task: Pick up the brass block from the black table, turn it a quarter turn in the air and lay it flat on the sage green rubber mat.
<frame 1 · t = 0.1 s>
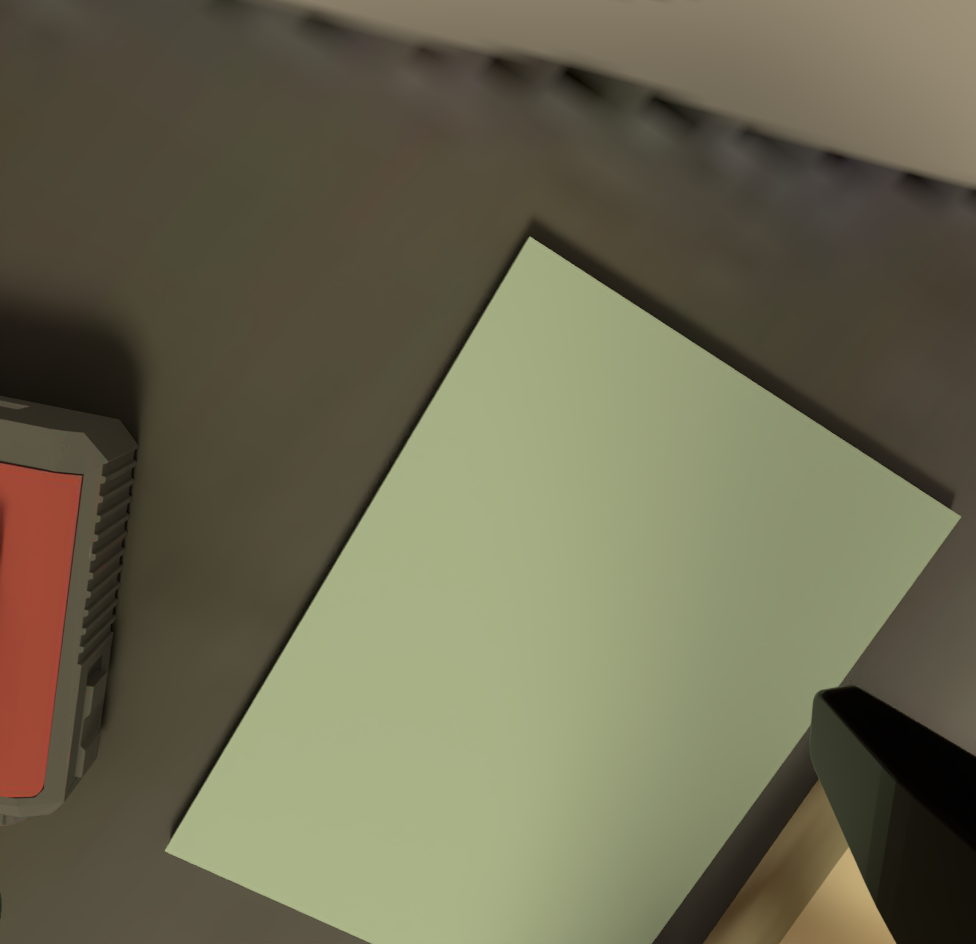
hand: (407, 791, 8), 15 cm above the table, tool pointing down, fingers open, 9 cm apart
brass block: (813, 902, 28), on the table
rubber mat: (557, 677, 25), on the table
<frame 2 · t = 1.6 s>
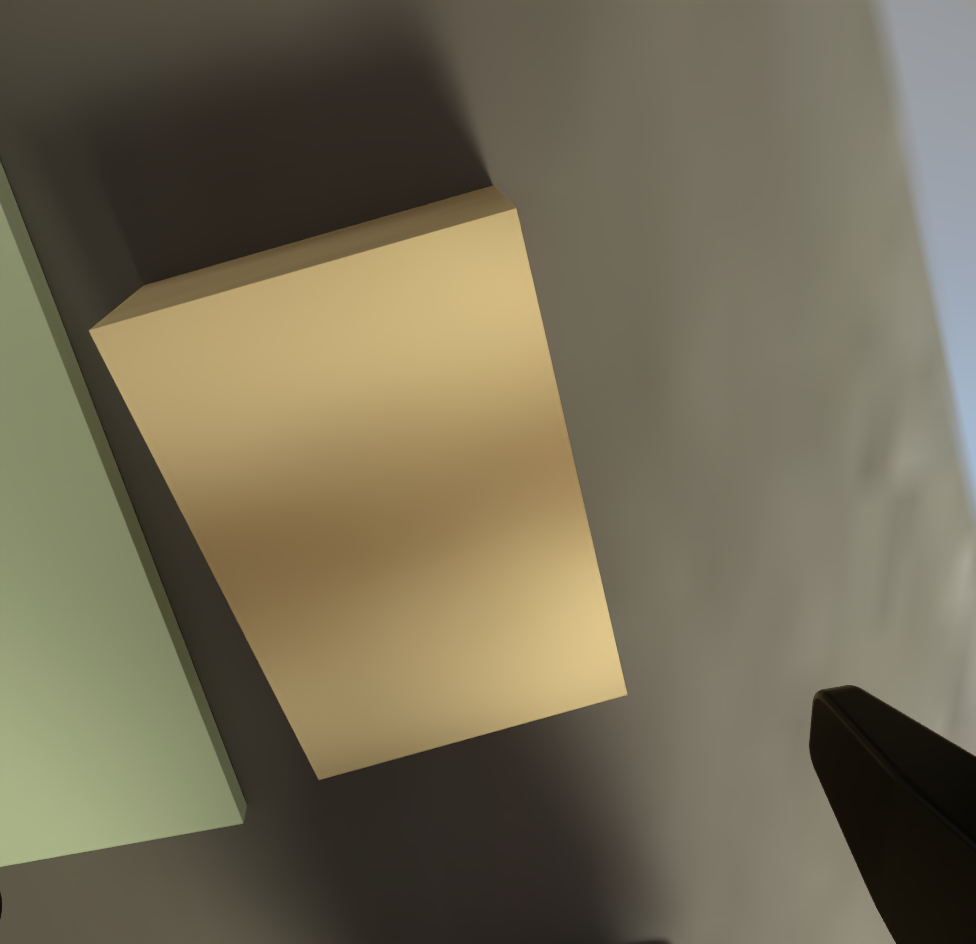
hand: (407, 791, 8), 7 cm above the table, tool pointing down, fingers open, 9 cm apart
brass block: (399, 461, 15), on the table
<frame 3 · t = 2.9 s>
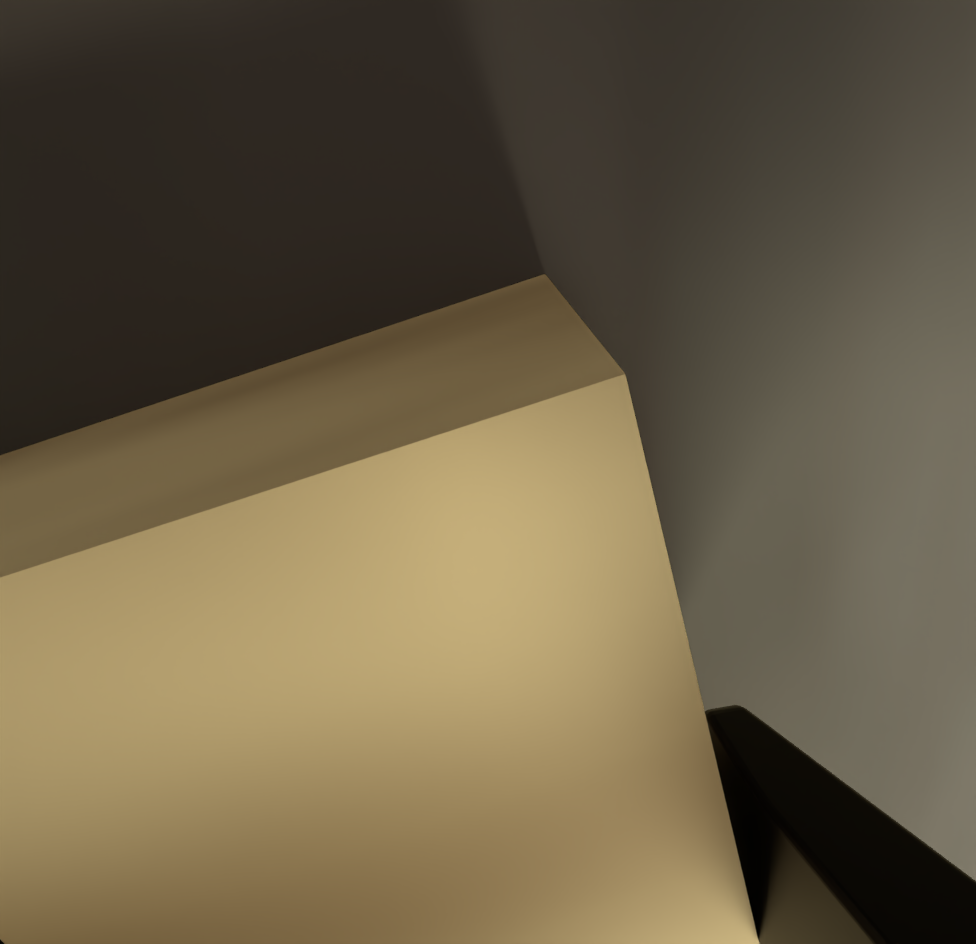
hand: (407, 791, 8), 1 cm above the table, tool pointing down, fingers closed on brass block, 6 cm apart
brass block: (404, 699, 10), on the table, touching gripper
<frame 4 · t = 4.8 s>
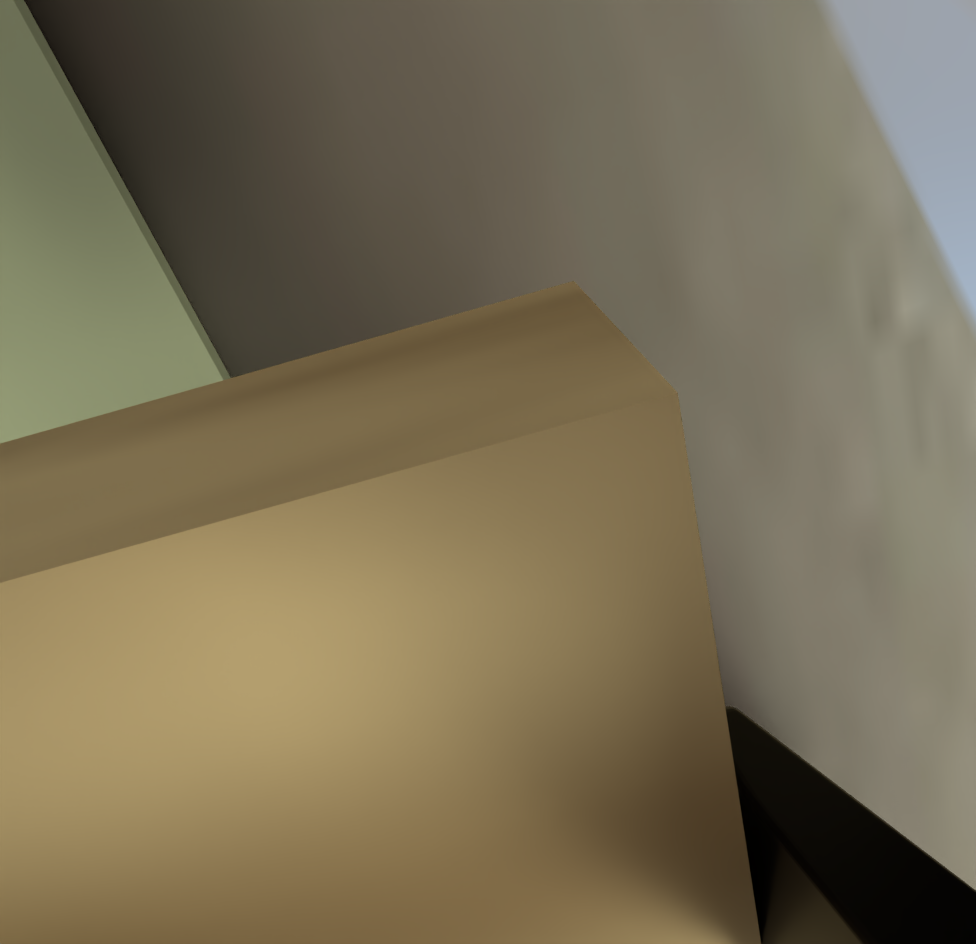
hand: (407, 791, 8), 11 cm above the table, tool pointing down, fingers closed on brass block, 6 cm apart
brass block: (407, 709, 9), point 10 cm above the table, touching gripper
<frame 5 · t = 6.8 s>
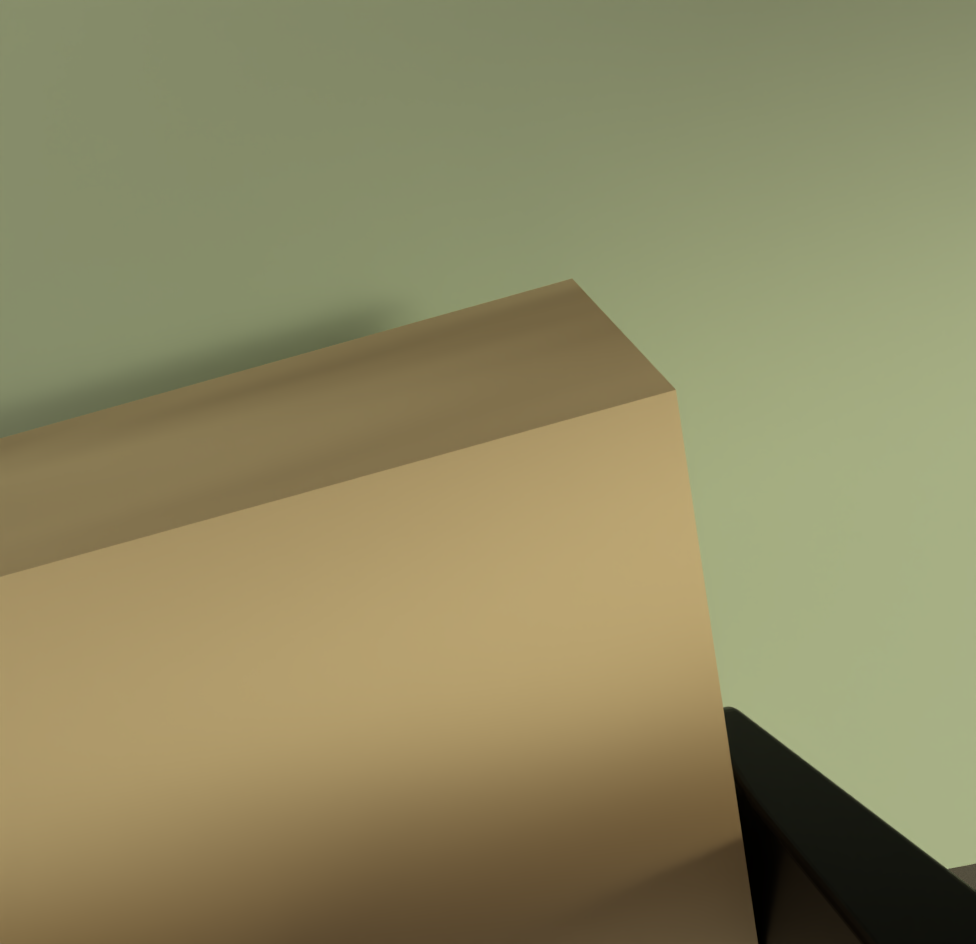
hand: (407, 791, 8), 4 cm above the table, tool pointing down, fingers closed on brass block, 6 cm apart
brass block: (404, 708, 9), point 2 cm above the table, touching gripper
rubber mat: (400, 597, 12), on the table
when the fingers open (3 cm above the table, at t = 7.8 s): brass block drops 1 cm, resting on rubber mat.
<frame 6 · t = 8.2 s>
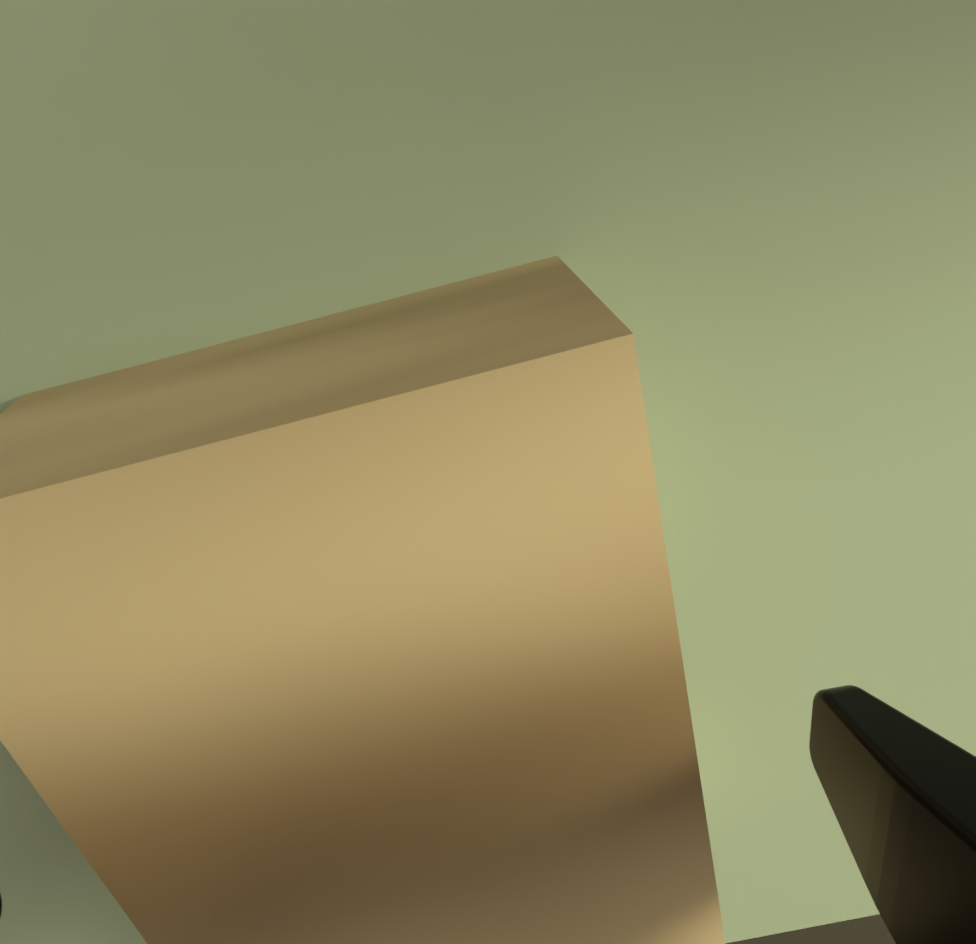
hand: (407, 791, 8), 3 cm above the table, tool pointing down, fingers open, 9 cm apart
brass block: (403, 641, 11), resting on rubber mat
rubber mat: (402, 621, 11), on the table
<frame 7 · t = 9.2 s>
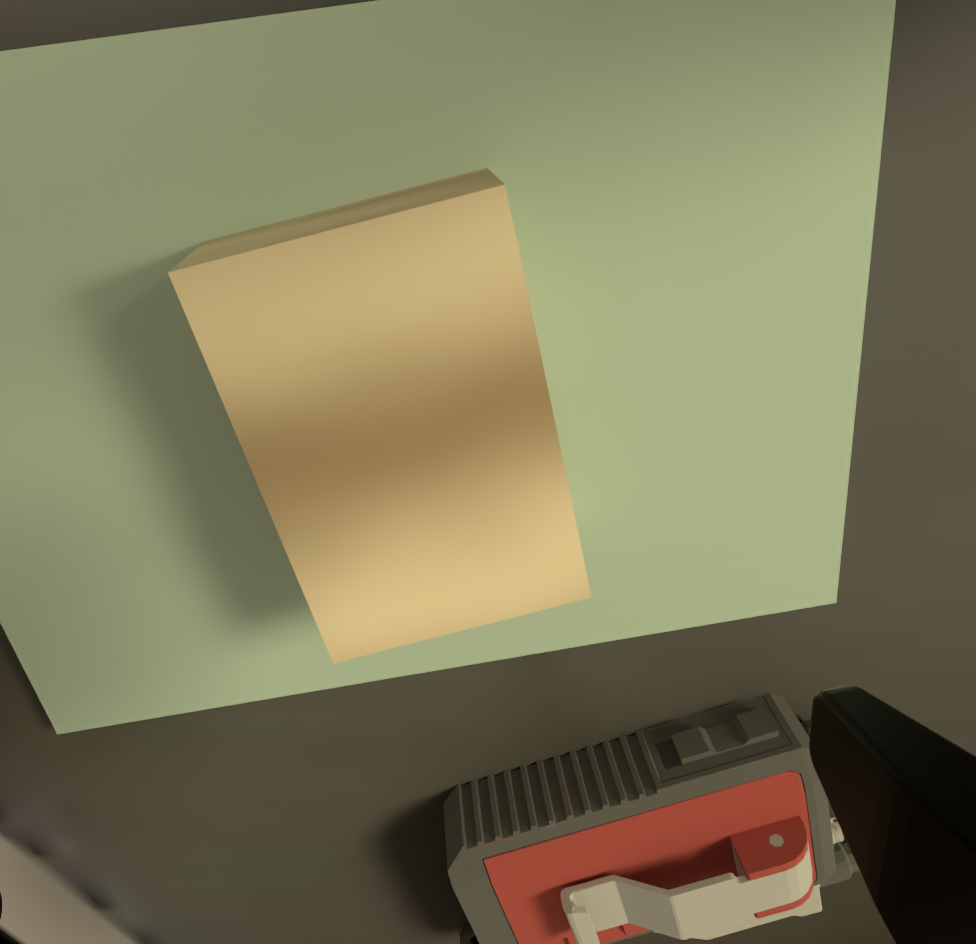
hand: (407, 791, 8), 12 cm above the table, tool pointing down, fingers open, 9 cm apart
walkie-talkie: (719, 785, 27), on the table
brass block: (405, 401, 18), resting on rubber mat
rubber mat: (405, 395, 19), on the table
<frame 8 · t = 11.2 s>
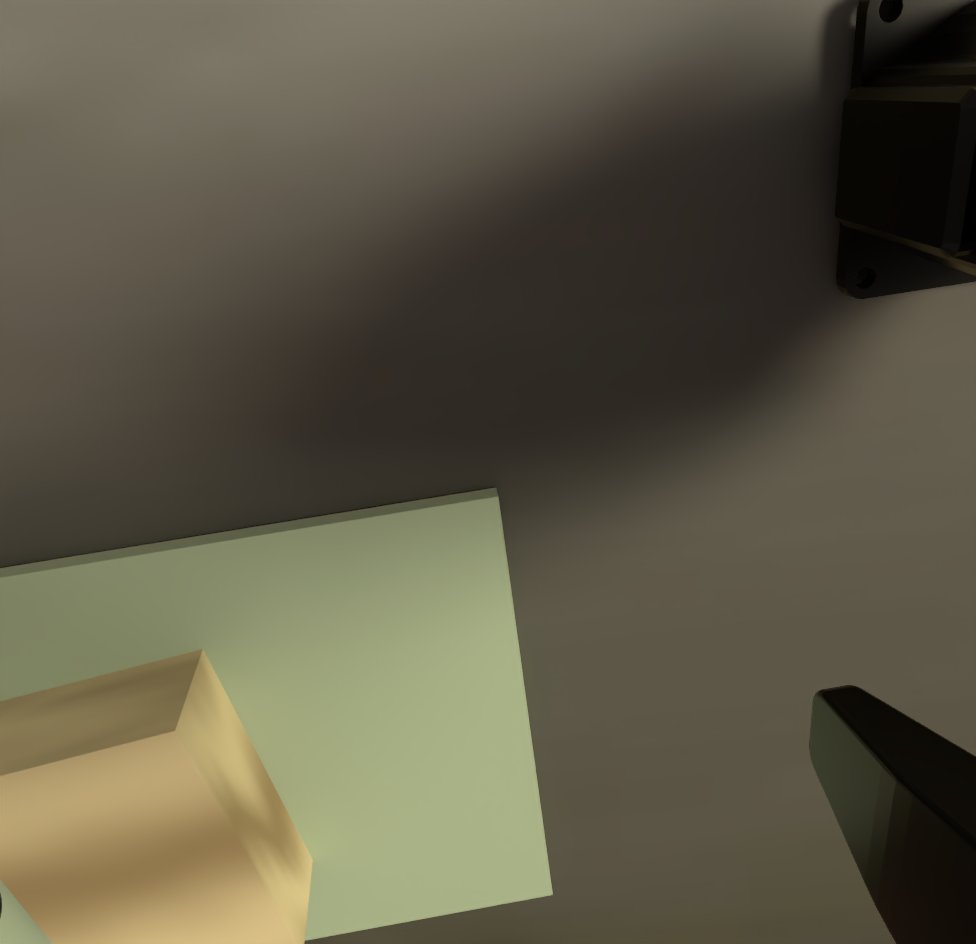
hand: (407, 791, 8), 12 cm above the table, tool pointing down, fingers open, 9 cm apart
brass block: (165, 789, 23), resting on rubber mat
rubber mat: (169, 777, 24), on the table
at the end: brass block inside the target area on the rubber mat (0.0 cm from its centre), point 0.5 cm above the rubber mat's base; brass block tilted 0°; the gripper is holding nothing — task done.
